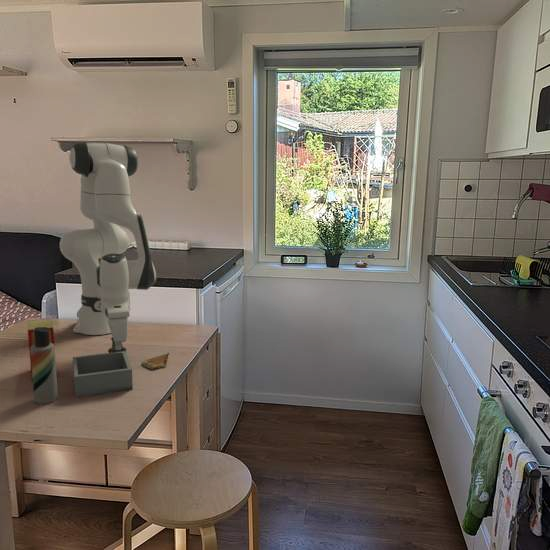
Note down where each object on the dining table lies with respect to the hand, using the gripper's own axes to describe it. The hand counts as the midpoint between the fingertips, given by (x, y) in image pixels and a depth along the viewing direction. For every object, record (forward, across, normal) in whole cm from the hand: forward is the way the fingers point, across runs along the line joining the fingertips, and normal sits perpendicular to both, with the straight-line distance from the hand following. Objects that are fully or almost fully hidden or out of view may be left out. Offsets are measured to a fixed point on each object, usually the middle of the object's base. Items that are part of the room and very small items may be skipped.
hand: (117, 346), depth 157 cm
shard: (+5, +6, +11) cm, 14 cm away
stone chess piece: (+5, 0, 0) cm, 5 cm away
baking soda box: (+5, +4, -22) cm, 22 cm away
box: (+5, +16, -6) cm, 18 cm away
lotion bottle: (+5, +22, -21) cm, 31 cm away
